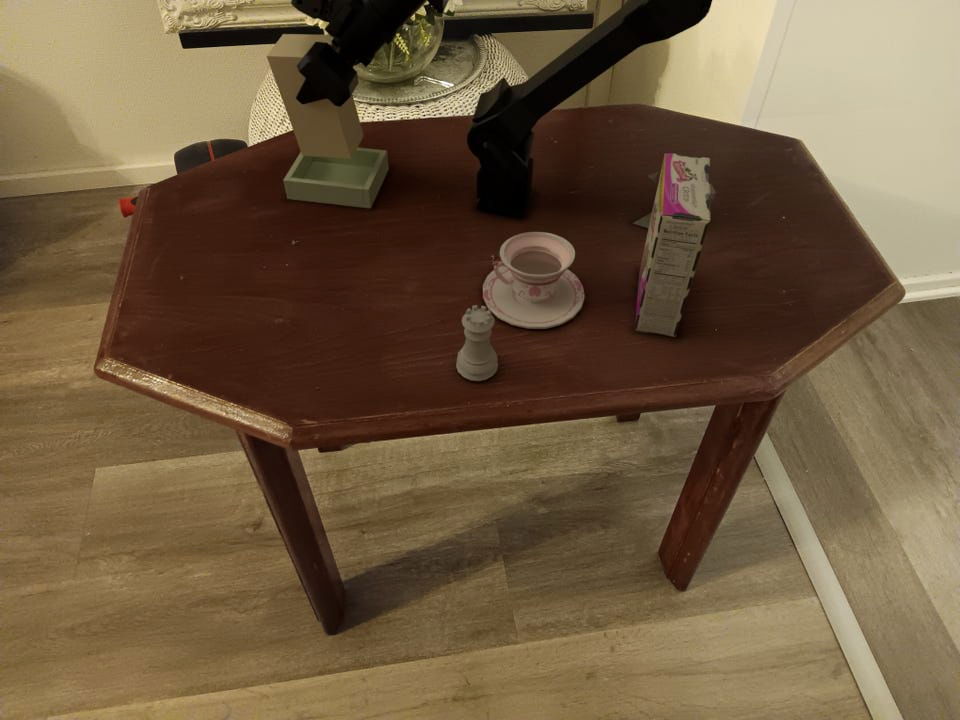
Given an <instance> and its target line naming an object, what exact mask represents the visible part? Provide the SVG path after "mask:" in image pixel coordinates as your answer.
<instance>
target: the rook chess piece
mask: <svg viewBox="0 0 960 720" xmlns="http://www.w3.org/2000/svg"><path fill="white" fill-rule="evenodd" d="M461 318H462V319H461V324H462V327H464V329H463V334H464V336H465V342H464V345H463V346H462V347H461V348H460V350H459V351H458V353H457V356H456V363H455V364H456V365H455V367H456V369H457V372H458V373H459V374H460V375H461V376H462V377H463V378H465V379H466V380H469V381H471V382H482V381H487V380H488V379H489V378H491V377H494V375H495V374H496V372H497V371H498V368H499V363H498V356H497V353H496V351H495V349H494V348H493V346H492V344H491V339H490V337H491V336H492V332H493V331H492V328H493V327H494V325H495V318H494V316H493V314H492V312H491V311H490V310H489V309H488V310H487V306H485V305H481V307H480V308H478V304H476V305H475V304H474V305H472V308H469V307H468V308H467V309H466V311H465V314H463V316H462V317H461Z"/></svg>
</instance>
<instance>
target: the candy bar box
mask: <svg viewBox="0 0 960 720" xmlns="http://www.w3.org/2000/svg"><path fill="white" fill-rule="evenodd" d="M710 182H711V159H710V157H704V156H698V157H697V156H693V155H687V154H681V155H680V154H679V153H669V152H667V153H664V156H663V160H662V164H661V169H660V175H659V179H658V182H657V183H658V184H657V188H656V192H655V198H654V202H653V206H652V211H651V213H652V216H651V220H650V225H649V228H647V229H648V230H647V234H646V240H645V244H644V249H643V253H642V258H641V262H640V267H639V273H638V283H637V296H636V307H635V321H634V323H635V324H634V331H635V332H639V333H644V334H652V335H657V336H658V335H659V336H665V337H671V338H676V337H677V335H678V334H677V333H678V330H679V327H680V324H681V320H682V318H683V313H684V311H685V307H686V304H687V300H688V297H689V293H690V290H691V287H692V283H693V279H694V276H695V273H696V269H697V266H698V263H699V260H700V257H701V253H702V249H703V245H704V243H705V238H706V235H707V232H708V228H709V225H710V222H711V205H710Z"/></svg>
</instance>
